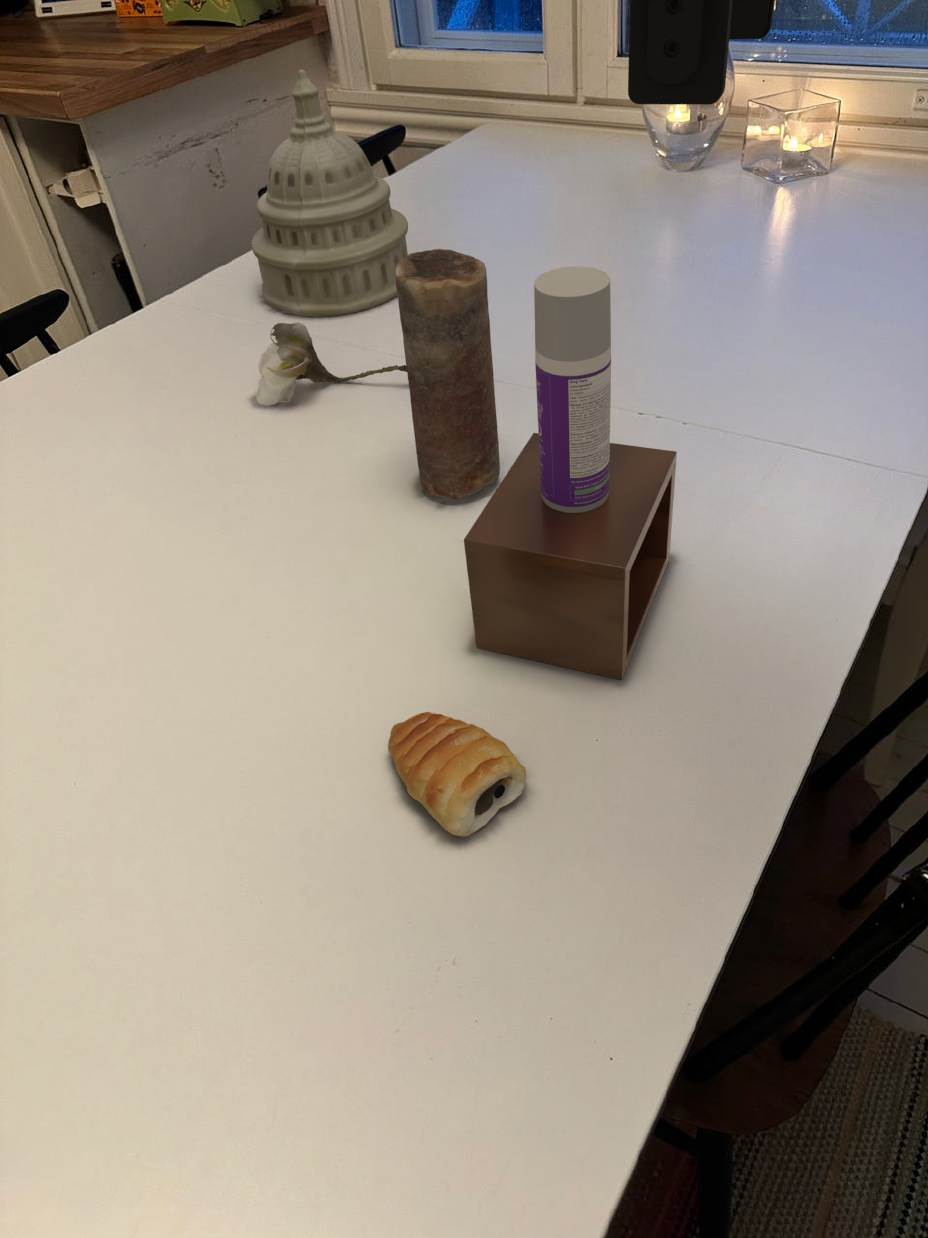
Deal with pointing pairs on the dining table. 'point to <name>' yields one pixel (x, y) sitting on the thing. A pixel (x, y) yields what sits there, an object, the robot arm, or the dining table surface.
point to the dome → (325, 221)
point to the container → (573, 386)
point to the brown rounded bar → (449, 370)
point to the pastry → (455, 770)
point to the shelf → (571, 563)
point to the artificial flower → (295, 365)
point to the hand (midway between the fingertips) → (705, 66)
